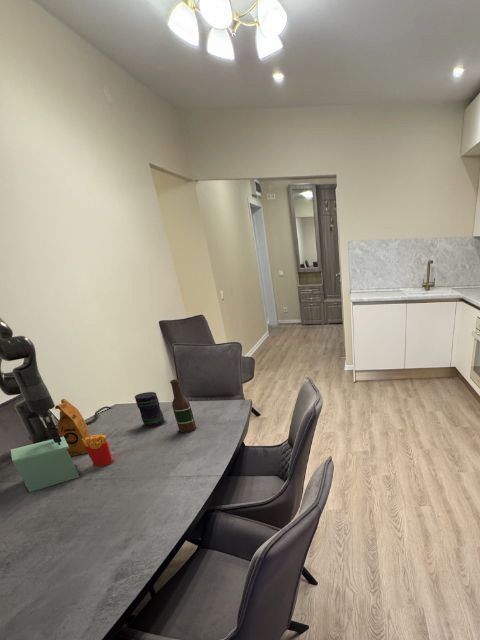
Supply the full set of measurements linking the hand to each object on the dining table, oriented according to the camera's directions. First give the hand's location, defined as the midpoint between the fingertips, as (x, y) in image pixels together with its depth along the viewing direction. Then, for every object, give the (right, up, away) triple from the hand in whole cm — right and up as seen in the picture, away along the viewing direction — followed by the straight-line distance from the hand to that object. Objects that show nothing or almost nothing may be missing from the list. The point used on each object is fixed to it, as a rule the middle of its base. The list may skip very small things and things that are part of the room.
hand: (57, 439), depth 146 cm
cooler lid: (-4, -4, -2) cm, 6 cm away
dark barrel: (+10, +13, +51) cm, 54 cm away
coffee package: (-9, -2, +26) cm, 28 cm away
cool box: (-4, -15, +4) cm, 16 cm away
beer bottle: (+31, +9, +42) cm, 53 cm away
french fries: (+9, -9, +13) cm, 18 cm away
